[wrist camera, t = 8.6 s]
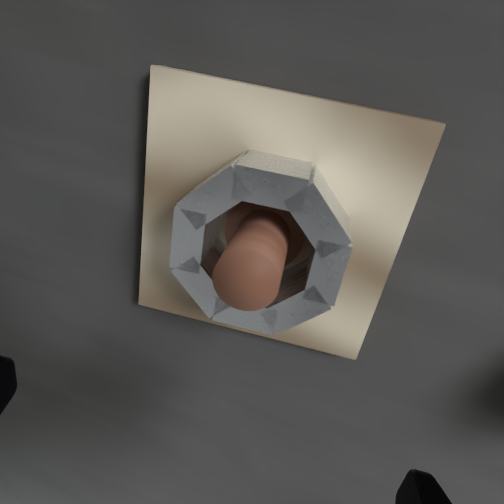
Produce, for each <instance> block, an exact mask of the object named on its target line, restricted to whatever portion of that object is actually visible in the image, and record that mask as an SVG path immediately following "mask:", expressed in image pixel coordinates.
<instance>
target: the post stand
mask: <svg viewBox="0 0 504 504" xmlns="http://www.w3.org/2000/svg"><path fill="white" fill-rule="evenodd" d="M445 126H446V124H444V123H442V122H440V121H435V120H430V119H425V118H420V117H415V116H410V115H405V114H400V113H395V112H390V111H385V110H380V109H375V108H370V107H365V106H360V105H355V104H350V103H345V102H340V101H335V100H330V99H325V98H320V97H315V96H310V95H305V94H300V93H296V92H291V91H286V90H281V89H276V88H271V87H266V86H261V85H256V84H251V83H246V82H241V81H236V80H231V79H226V78H221V77H216V76H211V75H206V74H201V73H196V72H191V71H186V70H181V69H176V68H171V67H166V66H161V65H151V70H150V89H149V109H148V129H147V148H146V168H145V187H144V207H143V227H142V246H141V266H140V285H139V305H142V306H146V307H150V308H154V309H158V310H162V311H166V312H170V313H173V314H177V315H181V316H185V317H189V318H193V319H197V320H201V321H205V322H209V323H213V324H217V325H220V326H224V327H228V328H232V329H236V330H240V331H244V332H248V333H252V334H256V335H260V336H264V337H268V338H271V339H275V340H279V341H283V342H287V343H291V344H295V345H299V346H303V347H307V348H311V349H315V350H318V351H322V352H326V353H330V354H334V355H338V356H342V357H346V358H350V359H354V360H356V358H357V356H358V353H359V350H360V348H361V345H362V343H363V340H364V337H365V335H366V332H367V329H368V327H369V324H370V322H371V319H372V316H373V314H374V311H375V309H376V306H377V303H378V301H379V298H380V296H381V293H382V290H383V288H384V285H385V283H386V280H387V277H388V275H389V272H390V270H391V267H392V264H393V262H394V259H395V257H396V254H397V251H398V249H399V246H400V243H401V241H402V238H403V236H404V233H405V230H406V228H407V225H408V223H409V220H410V217H411V215H412V212H413V210H414V207H415V204H416V202H417V199H418V197H419V194H420V191H421V189H422V186H423V184H424V181H425V178H426V176H427V173H428V171H429V168H430V165H431V163H432V160H433V157H434V155H435V152H436V150H437V147H438V144H439V142H440V139H441V137H442V134H443V131H444V129H445ZM250 149H251V150H256V151H260V152H265V153H270V154H275V155H280V156H285V157H289V158H294V159H299V160H304V161H309V162H312V167H313V166H315V165H316V166H317V167H318V169H319V170H320V172H321V174H322V175H323V177H324V178H325V180H326V182H327V183H328V185H329V186H330V188H331V190H332V191H333V193H334V194H335V196H336V197H337V199H338V201H339V202H340V204H341V205H342V207H343V209H344V210H345V212H346V213H347V215H348V218H349V225H350V232H351V239H352V246H353V248H352V251H351V254H350V257H349V260H348V264H347V267H346V270H345V273H344V276H343V279H342V283H341V286H340V289H339V292H338V295H337V299H336V302H335V305H334V306H331V310H329V311H327V312H325V313H323V314H320V315H318V316H316V317H314V318H312V319H310V320H307V321H305V322H303V323H301V324H299V325H297V326H295V327H292V328H290V329H288V330H286V331H284V332H282V333H280V334H277V335H276V334H275V332H274V331H273V334H272V335H269V334H265V333H261V332H257V331H253V330H249V329H245V328H241V327H237V326H233V325H229V324H225V323H221V322H217V321H213V316H212V317H210V318H208V317H207V315H206V314H205V313H204V312H203V310H202V309H201V308H200V307H199V305H198V304H197V303H196V302H195V300H194V299H193V298H192V297H191V296H190V294H189V293H188V292H187V291H186V289H185V288H184V287H183V286H182V284H181V283H180V282H179V281H178V280H177V278H176V277H175V276H174V275H173V273H172V272H171V270H172V269H173V268H171V267H169V265H170V253H171V240H172V228H173V216H174V207H175V206H176V205H177V204H176V203H177V202H179V201H180V200H181V199H182V198H183V197H184V196H185V195H187V194H188V193H189V192H190V191H191V190H192V189H193V188H195V187H196V186H197V185H198V184H199V183H201V182H202V181H203V180H205V179H206V178H208V177H209V176H211V175H212V174H213V173H215V172H216V171H218V170H219V169H220V168H222V167H223V166H225V165H226V164H228V163H229V162H230V161H232V160H233V159H235V158H236V157H237V156H239V155H240V154H242V153H243V152H245V151H247V152H248V151H249V150H250ZM218 238H219V239H220V240H221V242H222V243H223V244H224V246H225V247H226V248H225V250H224V252H223V253H222V255H221V257H220V259H219V260H218V262H217V264H216V266H215V267H214V270H213V274H212V282H213V286H214V289H215V291H216V293H217V295H218V296H219V297H220V298H221V300H223V301H224V302H225V303H226V304H228V305H229V306H231V307H233V308H235V309H238V310H242V311H256V310H260V309H263V308H265V307H267V306H268V305H269V304H271V303H272V302H273V301H274V299H275V298H276V296H277V294H278V291H279V286H280V282H281V277H282V273H283V271H285V270H287V269H288V268H290V267H292V266H294V265H296V264H298V263H300V262H302V261H303V260H305V259H307V258H308V257H309V253H310V249H311V245H312V244H311V242H310V241H309V239H308V238H307V236H306V235H305V233H304V232H303V230H302V229H301V228H300V226H299V225H298V223H297V222H296V220H295V219H294V217H293V216H292V214H291V213H290V211H286V210H281V209H277V208H272V207H267V206H263V205H258V204H254V203H249V202H245V201H241V202H239V203H238V204H236V205H235V206H233V207H232V208H230V209H229V210H227V211H226V212H224V213H222V215H221V222H220V229H219V236H218Z"/></svg>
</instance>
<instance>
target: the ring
mask: <svg viewBox="0 0 504 504" xmlns="http://www.w3.org/2000/svg"><path fill="white" fill-rule="evenodd" d="M241 201H245V202H249V203H254V204H258V205H263V206H267V207H272V208H277V209H281V210H286V211H290V213H291V214H292V216H293V217H294V219H295V220H296V222H297V223H298V225H299V226H300V228H301V229H302V230H303V232H304V233H305V235H306V236H307V238H308V239H309V241H310V242H311V244H312V245H311V249H310V253H309V257H308V258H307V259H305V260H303V261H302V262H300V263H298V264H296V265H294V266H292V267H290V268H288V269H287V270H285V271H283V273H282V277H281V282H280V286H279V291H278V294H277V296H276V298H275V299H274V301H273V302H272V303H271V304H269V305H268V306H267V307H265V308H263V309H260V310H256V311H242V310H238V309H235V308H233V307H231V306H229V305H228V304H226V303H225V302H224V301H223V300H221V298H220V297H219V296H218V295H217V293H216V291H215V289H214V286H213V282H212V274H213V270H214V267H215V266H216V264H217V262H218V260H219V259H220V257H221V255H222V253H223V252H224V250H225V248H226V247H225V246H224V244H223V243H222V242H221V240H220V239H219V238H218V236H219V229H220V222H221V215H222V213H224V212H226V211H227V210H229V209H230V208H232V207H233V206H235V205H236V204H238V203H239V202H241ZM176 204H177V205H176V206H175V207H174V216H173V228H172V240H171V253H170V265H169V267H171V268H173V269H172V270H171V272H172V273H173V275H174V276H175V277H176V278H177V280H178V281H179V282H180V283H181V284H182V286H183V287H184V288H185V289H186V291H187V292H188V293H189V294H190V296H191V297H192V298H193V299H194V300H195V302H196V303H197V304H198V305H199V307H200V308H201V309H202V310H203V312H204V313H205V314H206V315H207V317H208V318H210V317H212V316H213V321H217V322H221V323H225V324H229V325H233V326H237V327H241V328H245V329H249V330H253V331H257V332H261V333H265V334H269V335H272V334H273V331H274V332H275V334H276V335H277V334H280V333H282V332H284V331H286V330H288V329H290V328H292V327H295V326H297V325H299V324H301V323H303V322H305V321H307V320H310V319H312V318H314V317H316V316H318V315H320V314H323V313H325V312H327V311H329V310H331V306H334V305H335V302H336V299H337V295H338V292H339V289H340V286H341V283H342V279H343V276H344V273H345V270H346V267H347V264H348V260H349V257H350V254H351V251H352V248H353V246H352V239H351V232H350V225H349V218H348V215H347V213H346V212H345V210H344V209H343V207H342V205H341V204H340V202H339V201H338V199H337V197H336V196H335V194H334V193H333V191H332V190H331V188H330V186H329V185H328V183H327V182H326V180H325V178H324V177H323V175H322V174H321V172H320V170H319V169H318V167H317V166H316V165H315V166H313V167H312V162H309V161H304V160H299V159H294V158H289V157H285V156H280V155H275V154H270V153H265V152H260V151H256V150H251V149H250V150H249V151H248V152H247V151H245V152H243V153H242V154H240V155H239V156H237V157H236V158H235V159H233V160H232V161H230V162H229V163H228V164H226V165H225V166H223V167H222V168H220V169H219V170H218V171H216V172H215V173H213V174H212V175H211V176H209V177H208V178H206V179H205V180H203V181H202V182H201V183H199V184H198V185H197V186H196V187H195V188H193V189H192V190H191V191H190V192H189V193H188V194H187V195H185V196H184V197H183V198H182V199H181V200H180V201H179V202H177V203H176Z"/></svg>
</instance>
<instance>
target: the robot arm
mask: <svg viewBox="0 0 504 504" xmlns="http://www.w3.org/2000/svg"><path fill="white" fill-rule="evenodd" d="M16 388H17V379H16V371H15V364H14V361H13V360H12V359H11V358H8V357H4V356H1V355H0V415H1V413H2V412H3V410H4V409H5V407H6V406H7V404H8V403H9V401H10V400H11V398H12V397H13V395H14V394H15V391H16ZM395 504H452V503H451V501H450V500H449V498H448V497H447V496H446V494H445V493H444V491H443V490H442V488H441V487H440V485H439V484H438V482H437V481H436V479H435V478H434V477H433V476H432V475H431V474H429V473H427V472H423V471H419V470H416V469H411V470H409V472H408V473H407V475H406V477H405V479H404V480H403V482H402V484H401V486H400V488H399V489H398V491H397V494H396V501H395Z"/></svg>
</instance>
